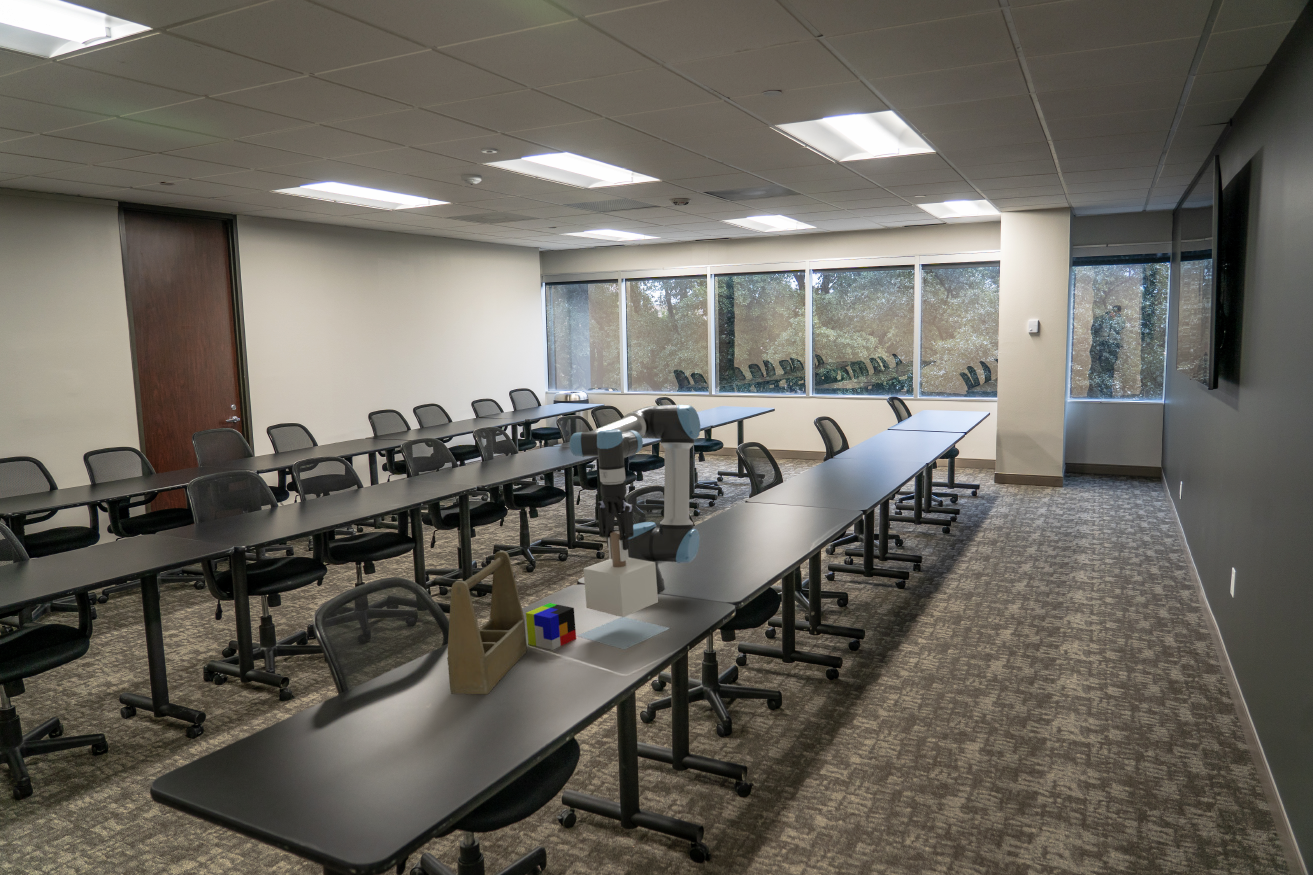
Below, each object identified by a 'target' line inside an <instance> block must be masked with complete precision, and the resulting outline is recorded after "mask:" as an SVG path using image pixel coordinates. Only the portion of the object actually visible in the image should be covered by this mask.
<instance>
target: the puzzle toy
mask: <svg viewBox="0 0 1313 875" xmlns="http://www.w3.org/2000/svg"><path fill="white" fill-rule="evenodd" d="M525 620H526V632H527V633H526V634H527V642H528V643H527V644H528V646H529V645H530V647H533V646H535V647H538V648H542V649H543V648H544V649H547V650H550V651H554V650H555V649H558V648H561V647H562V646H564V645H566V644H568V643H571V642H572V641H575V640H577V632H576V618H575V607H572V606H567V605H562V604H556V603H552V602H548V603H546V604H544V605H541V606H539V607H536V608H534V609H532V610H530V611H527V612H525Z"/></svg>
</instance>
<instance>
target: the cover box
mask: <svg viewBox="0 0 1313 875" xmlns="http://www.w3.org/2000/svg"><path fill="white" fill-rule="evenodd" d="M610 537H611V550H612V559H609V558H608V559H606V560H604V561H600V562H598V563H595V564H592V565H589V566H585V567H584V568H583V578H584V590H585V605H586V609H588V610H589V609H590V610H592V611H597V612H601V613H606V614H609V615H613V616H616V617H619V618H620V617H627V616H629V615H631V614H633V613H636V612H638V611H640V610H642V609H646V608H648V607H650V606H652V605H654V604H657V603H658V602H659V599H658V597H659V596H658V592H657V580H656V566H655V562H651V561H645V560H640V559H634V558H629V559H628V560H625V561H620V548H619V538H621V537H620V532H619V530H614V532H611V533H610Z"/></svg>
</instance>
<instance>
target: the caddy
mask: <svg viewBox="0 0 1313 875" xmlns="http://www.w3.org/2000/svg"><path fill="white" fill-rule="evenodd" d="M492 573H493V574H492ZM491 574H492V584H491V602H490V613H489V620H488V621H486V622H485V623H484V624H483V625H482V626H481V627H480V626H479V624H478V619H477V615H476V610H475V608H474V604H473V599H472V596H471V592H470V590H471V589H472V588H474V587H475V586H476V585H479V583H481V582H482V581H483V580H485V579H486V578H487V577H489V576H490V575H491ZM515 578H516V577H515V573H514V569H513V566H512V562H511V558H510V555H509V553H508V552H506V551H503V550H500V551H497V552H495V553H494V557H493V561H492V562H491V563H489V564H488V565H486V566H485V567H484V568H482V569H481V570H480V571H478V572H477V573H475V574H474V575H472V576H470V577H468V578H467V579H466V580H456V581H454V582H453V583H452V585H451V590H450V604H449V606H450V608H449V619H448V620H449V622H448V623H449V624H448V639H447V666H448V667H447V670H448V681H449V688H450V689H449V690H450V694H454V695H455V694H459V695H460V694H461V695H462V694H463V695H488V694H489V693H490V692H491V691H492V690H493V689H494V688H493V687H496V686H497V684H498V683H499V682H500V681H501V680H502V679H503V678H504V677H505V675H506V674H507V673H508V672H509V671H510V670H511V669H512V668H513V667H514V666H515V665H516V664H517V663H518V662H519V661H520V659H521V658H522V657H523V656H524V655H525V654H526V653H527V651H528V647H527V644H528V643H527V635H526V634H527V633H526V623H525V620H526V619H525V616H524V611H523V607H522V603H521V599H520V595H519V590H518V585H517V582H516V579H515ZM503 676H504V677H503ZM502 677H503V678H502ZM501 678H502V679H501ZM499 680H500V681H499Z"/></svg>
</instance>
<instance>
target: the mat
mask: <svg viewBox="0 0 1313 875" xmlns="http://www.w3.org/2000/svg"><path fill="white" fill-rule="evenodd" d="M670 629H671V627H667V626H662V625H659V624H656V623H655V624H654V623H650V622H646V621H643V620H637V619H636V618H629V617H627V616H625V617H620V616H619V618H616V619H613V620H611V621H608V622H605V623H604V624H601V625H599V626H596V627H595V628H592V629H589V630H587V631H585V632H583V633H579V634H576V637H579V638H582V639H585V640H590V641H592V642H593V641H594V642H596V643H601V644H604V645H607V646H610V647H614V648H618V649H622V650H627V649H628V648H631V647H633V646H635V645H637V644H640V643H642V642H644V641H646V640H648V639H650V638H653V637H655V636H657V635H659V634H661V633H663V632H666V631H668V630H670Z"/></svg>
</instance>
